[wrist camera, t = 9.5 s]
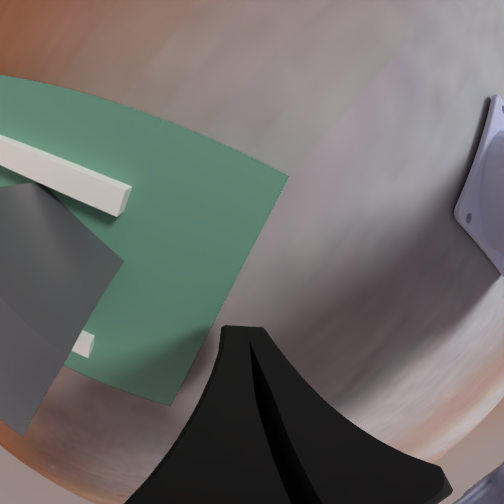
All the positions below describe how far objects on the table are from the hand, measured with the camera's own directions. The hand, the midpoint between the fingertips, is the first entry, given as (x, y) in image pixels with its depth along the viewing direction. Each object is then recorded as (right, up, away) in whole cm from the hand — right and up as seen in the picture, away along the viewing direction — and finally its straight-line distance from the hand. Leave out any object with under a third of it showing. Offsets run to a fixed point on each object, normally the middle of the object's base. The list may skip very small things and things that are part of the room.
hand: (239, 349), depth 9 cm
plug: (-6, +3, -1) cm, 7 cm away
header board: (-7, +4, 0) cm, 8 cm away
